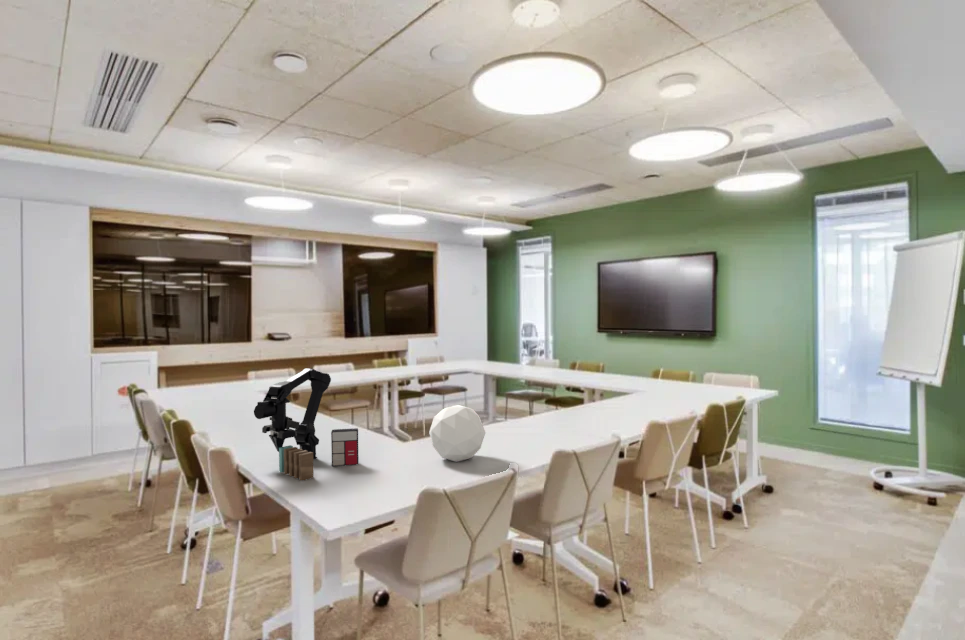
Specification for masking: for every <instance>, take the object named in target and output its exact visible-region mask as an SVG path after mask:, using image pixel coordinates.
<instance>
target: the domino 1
mask: <svg viewBox="0 0 965 640" xmlns="http://www.w3.org/2000/svg"><path fill="white" fill-rule="evenodd" d="M292 447H294V446H293V445H284V446H282V447H280V448H279V452H278V463H279V464H278V466H279V467H278V470H279V471H280V472H279V471H278V472H279V473H281V472H283V473H284V449H288V448H292Z"/></svg>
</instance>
